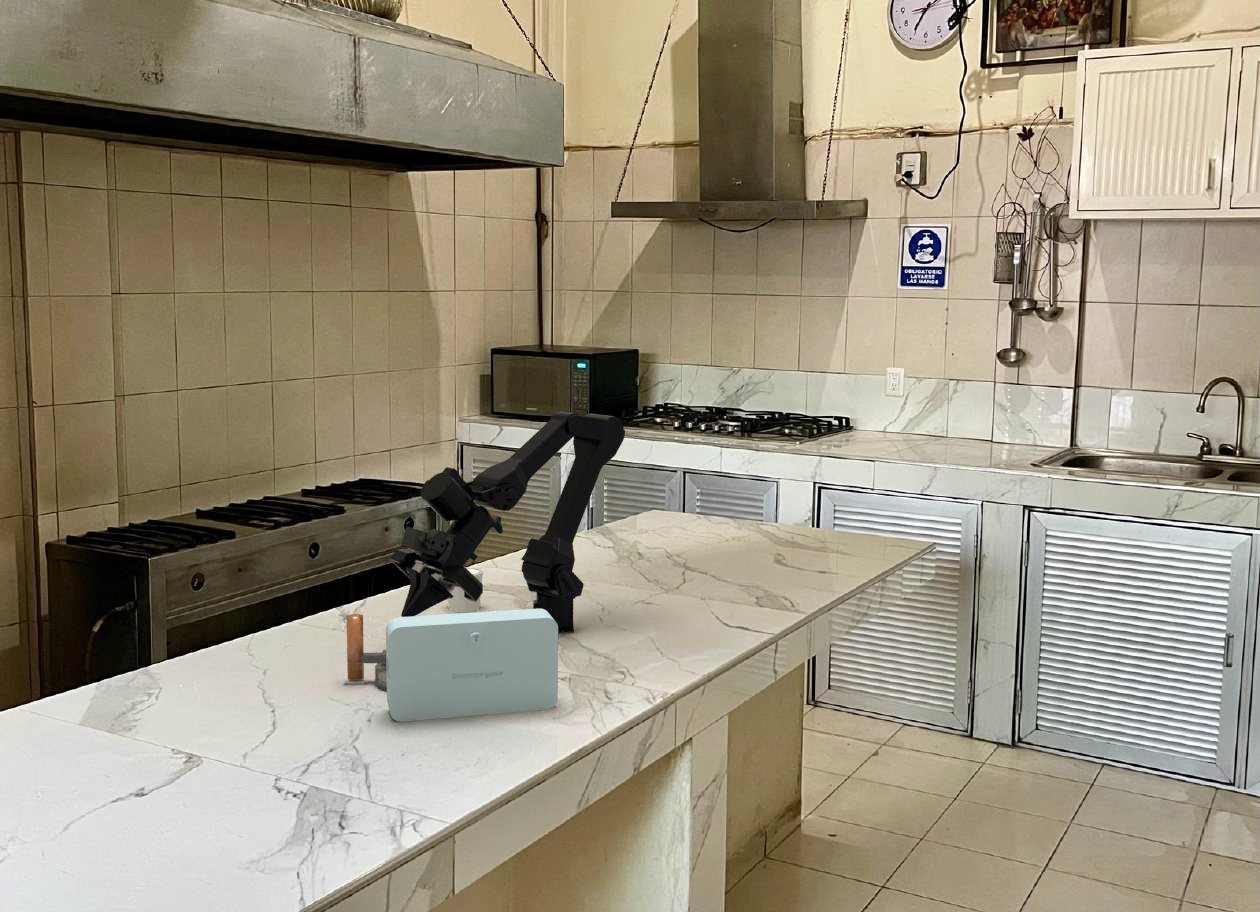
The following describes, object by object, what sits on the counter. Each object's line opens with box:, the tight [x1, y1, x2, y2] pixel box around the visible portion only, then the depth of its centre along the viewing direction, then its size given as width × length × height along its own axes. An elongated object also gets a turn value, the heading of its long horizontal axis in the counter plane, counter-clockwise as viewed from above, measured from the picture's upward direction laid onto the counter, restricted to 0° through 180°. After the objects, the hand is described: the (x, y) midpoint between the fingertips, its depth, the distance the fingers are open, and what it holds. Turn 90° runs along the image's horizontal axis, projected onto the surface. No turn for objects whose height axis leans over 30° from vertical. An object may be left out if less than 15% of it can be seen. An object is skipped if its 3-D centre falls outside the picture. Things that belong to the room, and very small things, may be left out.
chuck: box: [374, 663, 387, 692], centre depth 180 cm, size 10×10×7 cm
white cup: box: [447, 567, 484, 614], centre depth 222 cm, size 7×7×7 cm
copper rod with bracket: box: [345, 613, 387, 681], centre depth 180 cm, size 7×2×10 cm, turn 90°
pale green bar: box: [343, 679, 366, 686], centre depth 180 cm, size 3×1×1 cm, turn 98°
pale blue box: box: [385, 608, 559, 722], centre depth 169 cm, size 23×6×13 cm, turn 106°
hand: (404, 618), depth 187 cm, fingers closed
